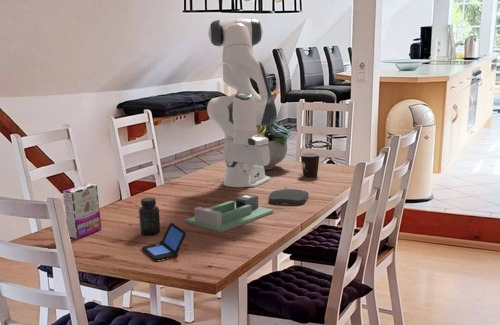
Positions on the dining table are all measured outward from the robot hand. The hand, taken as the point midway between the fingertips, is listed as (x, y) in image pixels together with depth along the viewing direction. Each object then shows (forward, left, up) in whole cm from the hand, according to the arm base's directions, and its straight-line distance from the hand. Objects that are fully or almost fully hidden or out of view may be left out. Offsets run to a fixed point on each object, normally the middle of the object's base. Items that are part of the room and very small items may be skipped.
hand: (246, 174), depth 221 cm
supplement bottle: (+38, -10, -14) cm, 42 cm away
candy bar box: (+52, -28, -14) cm, 61 cm away
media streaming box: (-22, +3, -15) cm, 26 cm away
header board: (+9, 0, -14) cm, 17 cm away
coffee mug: (-60, -14, -14) cm, 63 cm away
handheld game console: (+47, +7, -15) cm, 50 cm away
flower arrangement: (-59, -40, -14) cm, 72 cm away
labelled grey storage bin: (0, 0, -13) cm, 13 cm away
